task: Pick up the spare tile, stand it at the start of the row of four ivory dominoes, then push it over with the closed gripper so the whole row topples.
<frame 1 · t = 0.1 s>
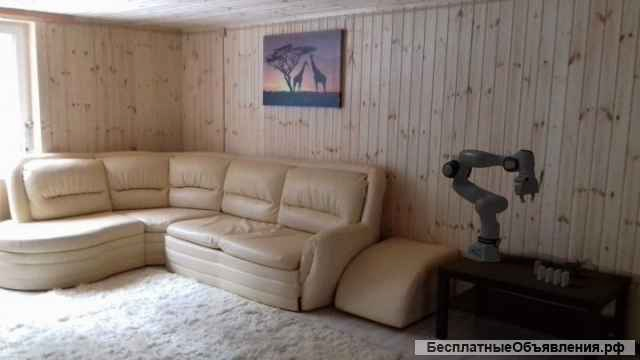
hand: (527, 202, 330), 39 cm above the table, tool pointing down, fingers open, 8 cm apart
domino 5: (564, 285, 303), on the table
domino 2: (540, 279, 314), on the table
domino 3: (548, 281, 310), on the table
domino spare: (537, 273, 325), on the table
box: (571, 276, 321), on the table
domino 4: (556, 283, 307), on the table
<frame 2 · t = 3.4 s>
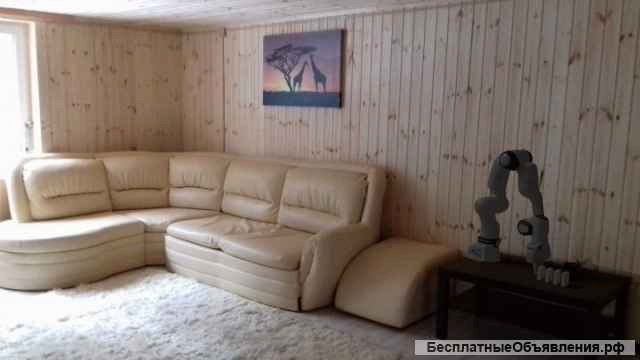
hand: (537, 268, 324), 3 cm above the table, tool pointing down, fingers closed on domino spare, 4 cm apart
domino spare: (537, 273, 325), on the table, touching gripper
everything else where it was.
when the fingers open (4 cm above the table, at t = 8.2 s): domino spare stays where it is, on the table.
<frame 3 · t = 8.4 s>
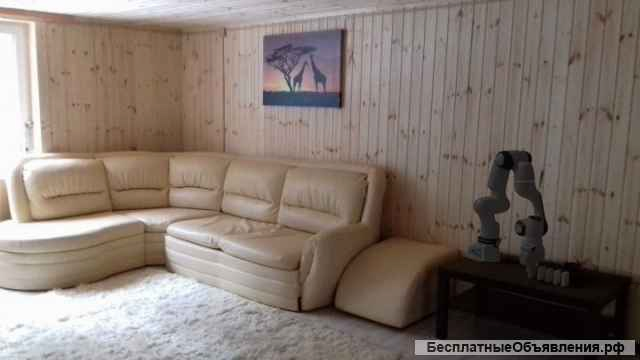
hand: (531, 270, 317), 4 cm above the table, tool pointing down, fingers open, 6 cm apart
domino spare: (531, 276, 318), on the table
everything else where it was.
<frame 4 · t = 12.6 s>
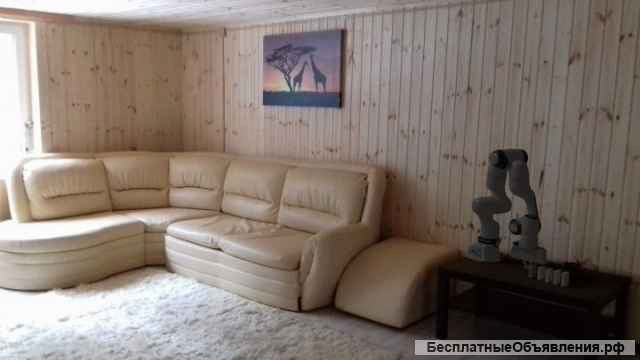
hand: (527, 268, 319), 4 cm above the table, tool pointing down, fingers closed
nothing on the table moved.
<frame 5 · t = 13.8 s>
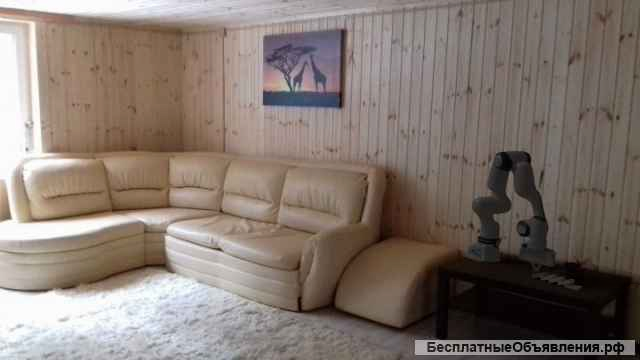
hand: (536, 270, 315), 4 cm above the table, tool pointing down, fingers closed
domino 5: (566, 285, 303), on the table, tilted 90°, touching domino 4
domino 2: (543, 278, 313), point 1 cm above the table, tilted 67°, touching domino 3, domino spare
domino 3: (551, 280, 309), point 1 cm above the table, tilted 69°, touching domino 2, domino 4
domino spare: (534, 275, 317), point 1 cm above the table, tilted 70°, touching domino 2
domino 4: (559, 282, 305), point 1 cm above the table, tilted 70°, touching domino 3, domino 5
everything else where it was.
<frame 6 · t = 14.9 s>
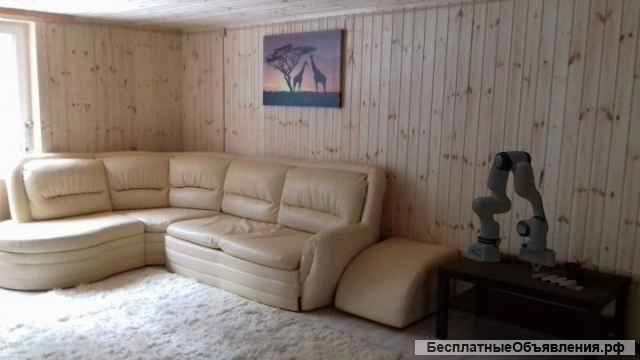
hand: (536, 270, 315), 4 cm above the table, tool pointing down, fingers closed
domino 3: (552, 280, 309), point 1 cm above the table, tilted 69°, touching domino 2
domino 4: (562, 283, 304), point 1 cm above the table, tilted 69°, touching domino 5
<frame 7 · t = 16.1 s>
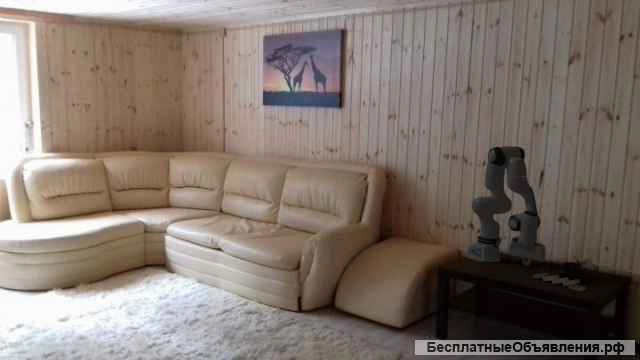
hand: (526, 264, 321), 6 cm above the table, tool pointing down, fingers closed
domino 5: (570, 286, 301), on the table, tilted 90°, touching domino 4
domino 3: (554, 281, 308), point 1 cm above the table, tilted 70°, touching domino 2, domino 4
domino 4: (565, 283, 303), point 1 cm above the table, tilted 63°, touching domino 3, domino 5
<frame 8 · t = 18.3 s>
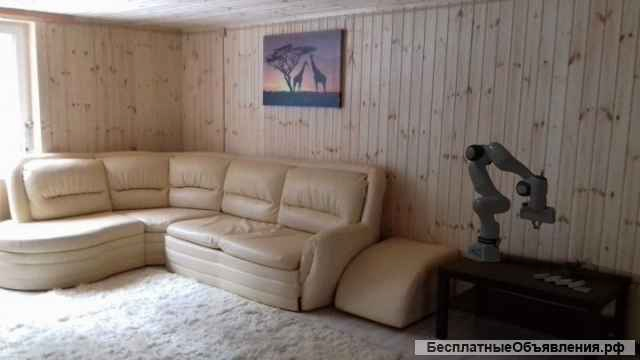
hand: (536, 229, 322), 25 cm above the table, tool pointing down, fingers closed
domino 5: (575, 287, 299), on the table, tilted 90°, touching domino 4
domino 3: (557, 281, 307), point 1 cm above the table, tilted 76°, touching domino 2, domino 4
domino 4: (570, 285, 301), point 1 cm above the table, tilted 63°, touching domino 3, domino 5
at the end: domino 5 tilted 90°; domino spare tilted 74°; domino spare inside the target area (0.4 cm from its centre), point 0.9 cm above the table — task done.
